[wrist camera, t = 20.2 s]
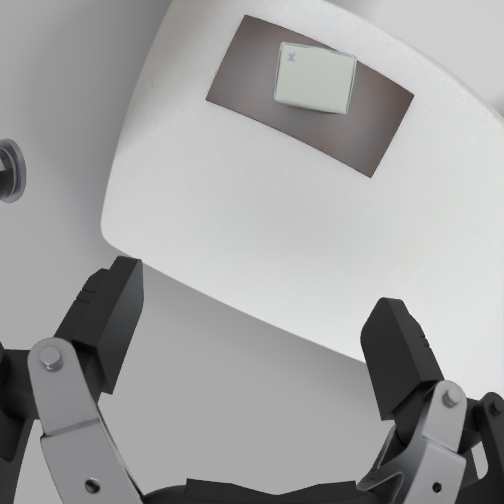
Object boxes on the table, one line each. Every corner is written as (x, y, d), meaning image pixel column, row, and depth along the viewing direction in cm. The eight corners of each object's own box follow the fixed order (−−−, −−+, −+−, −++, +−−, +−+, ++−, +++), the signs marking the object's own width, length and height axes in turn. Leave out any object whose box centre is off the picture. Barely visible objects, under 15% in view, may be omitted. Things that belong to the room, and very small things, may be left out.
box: (281, 105, 29) (266, 101, 18) (288, 66, 27) (276, 39, 16) (331, 115, 29) (348, 117, 17) (338, 76, 27) (358, 54, 15)
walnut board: (206, 99, 31) (205, 99, 30) (246, 15, 25) (245, 14, 25) (369, 177, 31) (370, 178, 31) (412, 95, 26) (414, 95, 26)
